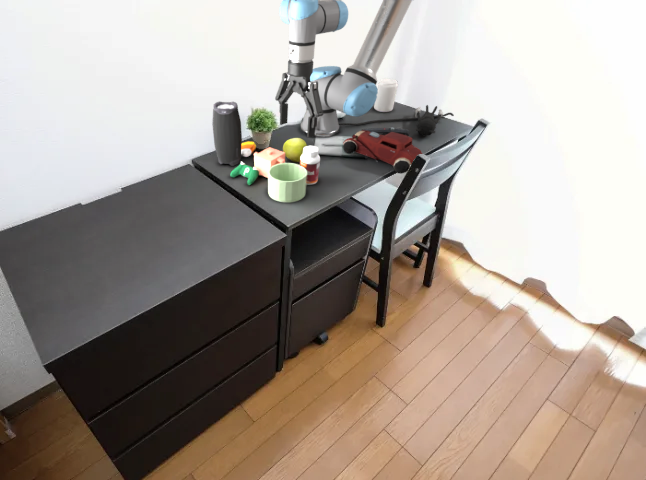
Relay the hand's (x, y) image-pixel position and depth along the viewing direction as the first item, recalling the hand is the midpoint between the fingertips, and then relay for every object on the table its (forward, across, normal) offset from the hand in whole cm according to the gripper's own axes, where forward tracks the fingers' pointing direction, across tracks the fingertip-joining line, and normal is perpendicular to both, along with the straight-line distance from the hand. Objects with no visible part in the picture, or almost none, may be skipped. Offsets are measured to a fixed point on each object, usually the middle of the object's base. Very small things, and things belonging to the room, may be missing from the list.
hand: (296, 130), depth 126 cm
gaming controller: (+12, -1, -21) cm, 24 cm away
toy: (+8, +3, +75) cm, 75 cm away
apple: (+11, 0, 0) cm, 11 cm away
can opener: (+11, +9, +36) cm, 39 cm away
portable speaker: (+11, -14, -18) cm, 26 cm away
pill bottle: (+11, +13, -6) cm, 18 cm away
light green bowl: (+11, +14, -16) cm, 24 cm away
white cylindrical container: (+11, -12, +62) cm, 64 cm away
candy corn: (+10, -18, -7) cm, 22 cm away
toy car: (+11, +19, +24) cm, 32 cm away
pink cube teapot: (+12, +1, -13) cm, 17 cm away
